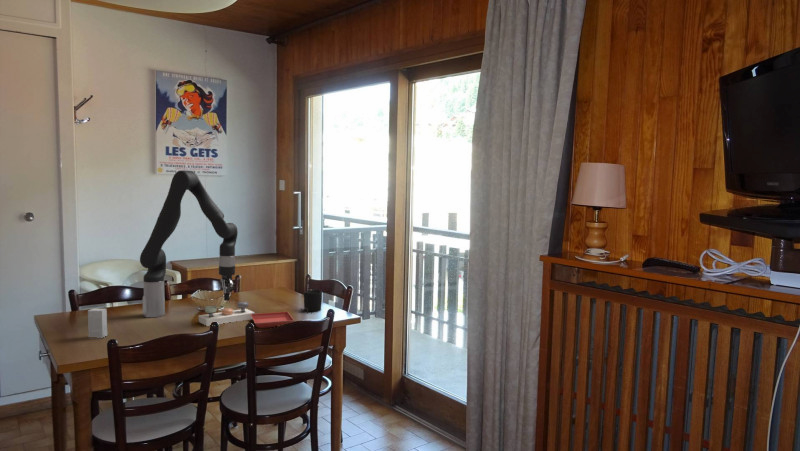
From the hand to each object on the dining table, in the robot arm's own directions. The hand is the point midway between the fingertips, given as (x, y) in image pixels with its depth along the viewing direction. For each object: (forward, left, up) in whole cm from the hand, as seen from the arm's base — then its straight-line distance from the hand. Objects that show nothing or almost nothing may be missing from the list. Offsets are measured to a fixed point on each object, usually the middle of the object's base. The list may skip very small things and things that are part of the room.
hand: (226, 300), depth 268 cm
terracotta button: (0, 0, -10) cm, 10 cm away
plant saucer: (+15, -17, -10) cm, 25 cm away
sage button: (-8, 0, -7) cm, 11 cm away
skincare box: (-55, +5, -10) cm, 56 cm away
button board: (0, 0, -10) cm, 10 cm away
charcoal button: (+8, 0, -7) cm, 11 cm away
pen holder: (+44, -6, -10) cm, 46 cm away
